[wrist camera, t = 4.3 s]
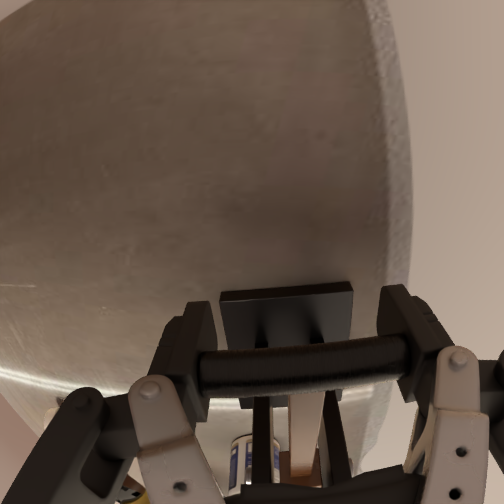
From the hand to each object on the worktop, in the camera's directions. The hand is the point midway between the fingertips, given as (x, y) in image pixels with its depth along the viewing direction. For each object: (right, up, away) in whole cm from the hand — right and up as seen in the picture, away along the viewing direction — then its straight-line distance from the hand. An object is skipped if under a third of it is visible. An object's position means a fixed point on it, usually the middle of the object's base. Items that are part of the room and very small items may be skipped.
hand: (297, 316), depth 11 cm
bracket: (+1, -6, +13) cm, 15 cm away
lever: (+1, -5, +2) cm, 6 cm away
